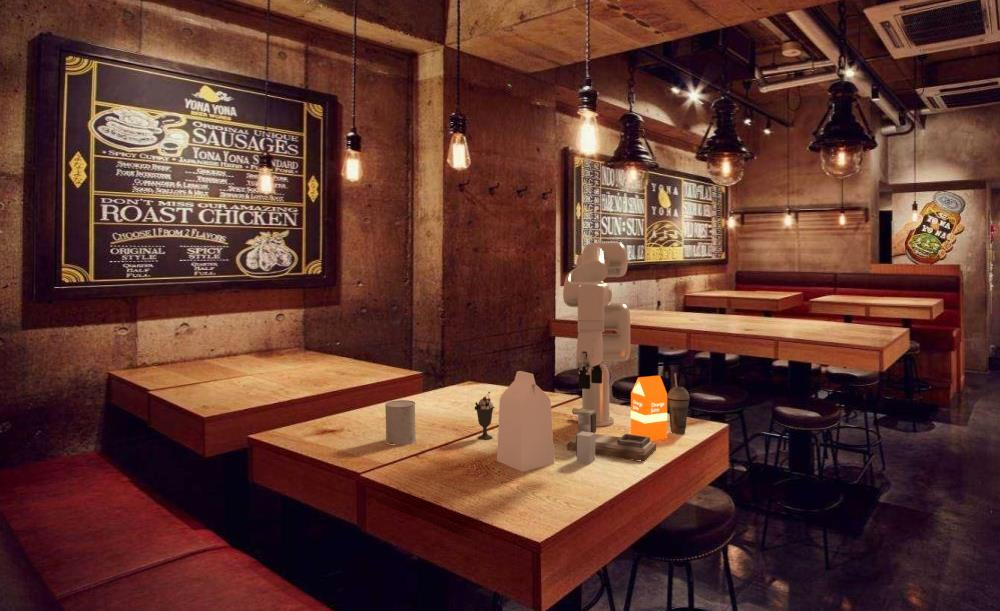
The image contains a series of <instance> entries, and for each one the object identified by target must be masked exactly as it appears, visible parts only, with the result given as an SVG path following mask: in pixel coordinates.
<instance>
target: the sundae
mask: <svg viewBox="0 0 1000 611" xmlns="http://www.w3.org/2000/svg"><path fill="white" fill-rule="evenodd" d="M489 394H491V391H488V393H487V394H486V395H485V396H483V397H482V398H481V399H480V400H479V401H478V402H477V401H476V402H475V403H474V404H475V406H474V410H476V414H477V422H478V424H479V425H480V427H481V428H482V435H478V436H477V439H479V440H483V441H485V440H486V441H487V440H491V439H493V436H492V435H490V434H488V430H487V429H488V428H487V427H489V426H490V425H491V424H492V418H493V410H494V409H495V408H496V406H494V404H493V402H492V401H491V400H492V399H491V398H490V397H488V398H487V396H489Z"/></svg>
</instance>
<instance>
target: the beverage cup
mask: <svg viewBox="0 0 1000 611" xmlns="http://www.w3.org/2000/svg"><path fill="white" fill-rule="evenodd" d="M674 383H675V384H674V385H675V386H673V387H672V388H670V390H669V391H668V393H667V405H668V412H669V413H668V414H669V427H670V433H671V432H672V433H671V434H673V433H675V434H674V435H685V434H686V428H687V418H688V410H689V404H690V395H689V391H688V390H687V388H685V387H683V386H679V385H678V380H677V372H675V373H674ZM684 433H685V434H684Z"/></svg>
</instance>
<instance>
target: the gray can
mask: <svg viewBox="0 0 1000 611" xmlns="http://www.w3.org/2000/svg"><path fill="white" fill-rule="evenodd" d="M384 407H385V438H386V439H385V443H386V442H387V443H389V444H395V445H394V446H396V445H400V446H405V445H404V444H409V445H411V444H410V443H412V444H414V443H416V442H417V439H416V402H415V401H413V400H406V399H405V400H404V399H402V400H401V399H400V400H391V401H388V402H386V403H385V404H384ZM413 442H414V443H413ZM387 443H386V444H387ZM389 444H388V445H389Z"/></svg>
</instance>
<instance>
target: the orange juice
mask: <svg viewBox="0 0 1000 611" xmlns="http://www.w3.org/2000/svg"><path fill="white" fill-rule="evenodd" d="M667 397H668V393H667V390H666V387H665V385H664V382H663V379H662V378H661V375H650V376H640V377H637V379H636V382H635V384H634V386H633V388H632V390H631V392H630V434H631V435H639V436H646V437H650V441H651V440H655V441H658V440H657V439H662V440H665V439H664V438H668V435H667V434H668V399H667ZM651 442H652V441H651Z"/></svg>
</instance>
